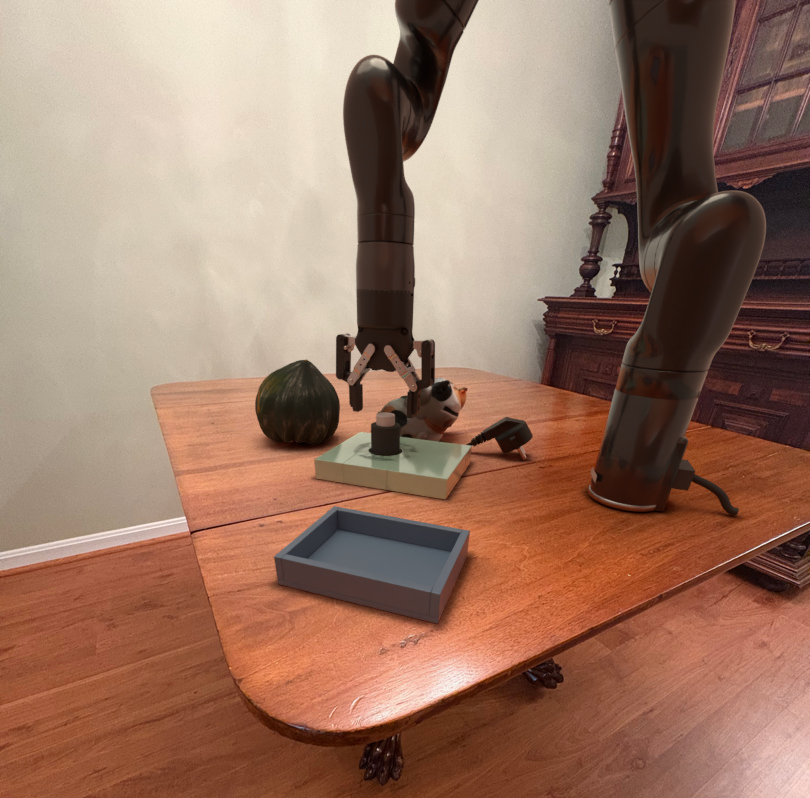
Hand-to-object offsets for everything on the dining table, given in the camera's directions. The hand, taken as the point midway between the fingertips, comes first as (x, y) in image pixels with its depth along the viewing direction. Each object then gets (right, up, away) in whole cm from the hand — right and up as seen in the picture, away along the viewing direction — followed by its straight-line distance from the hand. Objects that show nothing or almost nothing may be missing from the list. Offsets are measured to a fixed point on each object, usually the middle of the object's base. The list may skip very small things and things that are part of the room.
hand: (384, 413), depth 63 cm
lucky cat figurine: (+6, +1, +20) cm, 21 cm away
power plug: (+19, -4, +12) cm, 22 cm away
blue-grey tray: (0, -22, -21) cm, 30 cm away
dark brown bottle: (0, -7, +4) cm, 9 cm away
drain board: (+2, -8, +4) cm, 9 cm away
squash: (-16, 0, +17) cm, 23 cm away
